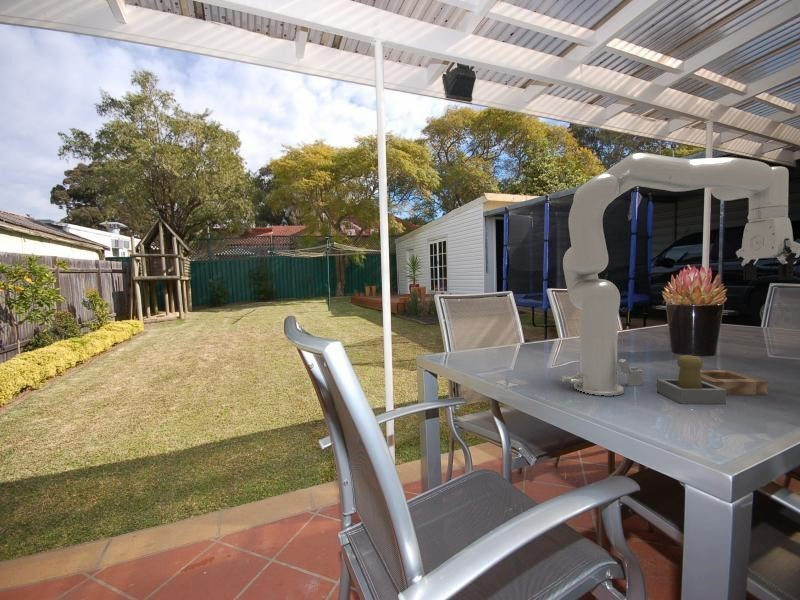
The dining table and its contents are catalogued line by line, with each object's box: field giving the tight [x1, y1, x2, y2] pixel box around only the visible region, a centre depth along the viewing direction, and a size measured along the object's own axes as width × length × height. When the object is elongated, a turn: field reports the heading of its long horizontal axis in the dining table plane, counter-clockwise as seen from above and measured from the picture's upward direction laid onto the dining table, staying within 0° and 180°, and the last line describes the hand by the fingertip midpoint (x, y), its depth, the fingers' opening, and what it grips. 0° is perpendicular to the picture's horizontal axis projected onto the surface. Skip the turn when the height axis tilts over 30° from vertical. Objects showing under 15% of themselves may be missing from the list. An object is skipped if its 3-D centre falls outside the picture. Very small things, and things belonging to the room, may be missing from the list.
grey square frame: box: [656, 378, 727, 405], centre depth 99 cm, size 10×10×4 cm
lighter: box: [617, 358, 643, 387], centre depth 111 cm, size 7×2×8 cm, turn 103°
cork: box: [676, 354, 703, 389], centre depth 98 cm, size 6×6×11 cm
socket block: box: [700, 369, 768, 396], centre depth 106 cm, size 13×13×4 cm
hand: (766, 279), depth 101 cm, fingers open, 9 cm apart
